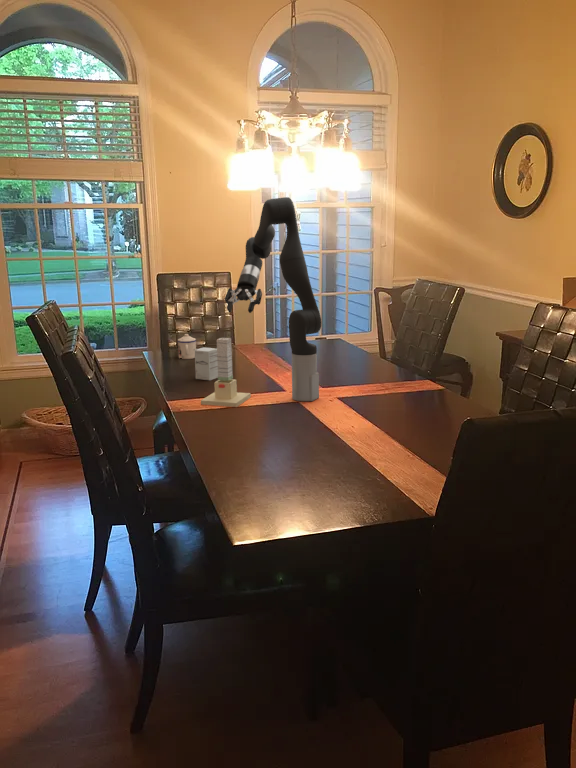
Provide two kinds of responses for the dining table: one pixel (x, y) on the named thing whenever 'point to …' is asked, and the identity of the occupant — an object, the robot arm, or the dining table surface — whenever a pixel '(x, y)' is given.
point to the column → (224, 359)
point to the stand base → (226, 394)
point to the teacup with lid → (187, 347)
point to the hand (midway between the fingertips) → (239, 311)
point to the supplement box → (206, 363)
